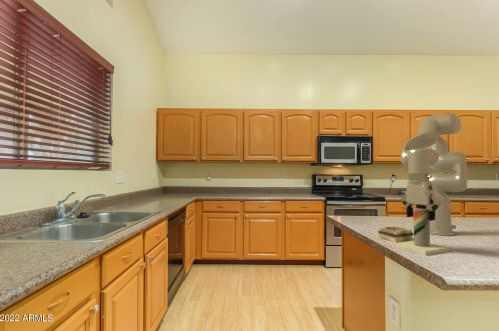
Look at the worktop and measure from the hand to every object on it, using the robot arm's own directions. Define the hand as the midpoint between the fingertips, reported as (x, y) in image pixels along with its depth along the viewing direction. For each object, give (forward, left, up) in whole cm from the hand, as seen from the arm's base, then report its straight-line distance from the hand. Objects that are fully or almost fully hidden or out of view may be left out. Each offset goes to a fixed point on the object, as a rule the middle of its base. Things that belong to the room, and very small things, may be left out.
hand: (420, 218), depth 115 cm
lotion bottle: (0, 0, -11) cm, 11 cm away
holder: (-5, -17, -13) cm, 22 cm away
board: (0, 0, -13) cm, 13 cm away
